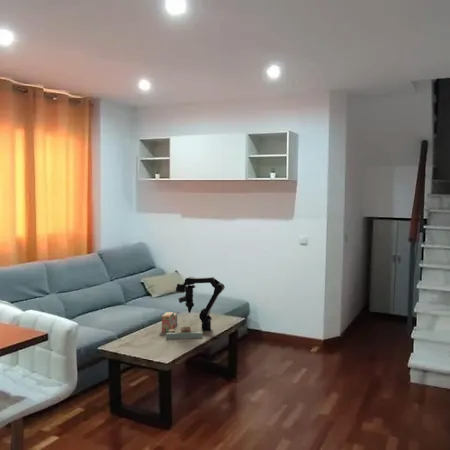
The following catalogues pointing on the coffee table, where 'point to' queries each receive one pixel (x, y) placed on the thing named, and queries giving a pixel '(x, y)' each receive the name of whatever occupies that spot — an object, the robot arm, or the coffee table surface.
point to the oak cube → (171, 331)
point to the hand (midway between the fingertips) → (189, 312)
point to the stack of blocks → (169, 321)
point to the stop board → (184, 335)
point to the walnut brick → (185, 329)
